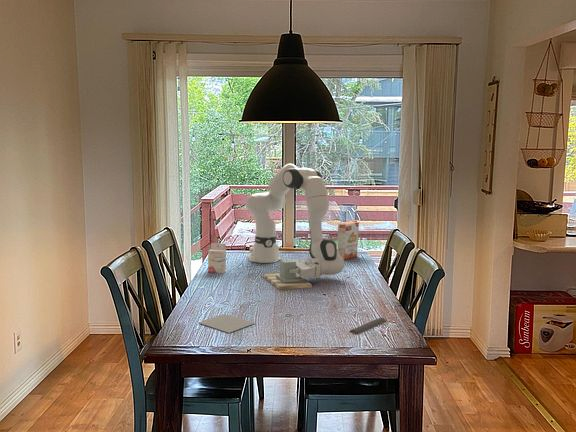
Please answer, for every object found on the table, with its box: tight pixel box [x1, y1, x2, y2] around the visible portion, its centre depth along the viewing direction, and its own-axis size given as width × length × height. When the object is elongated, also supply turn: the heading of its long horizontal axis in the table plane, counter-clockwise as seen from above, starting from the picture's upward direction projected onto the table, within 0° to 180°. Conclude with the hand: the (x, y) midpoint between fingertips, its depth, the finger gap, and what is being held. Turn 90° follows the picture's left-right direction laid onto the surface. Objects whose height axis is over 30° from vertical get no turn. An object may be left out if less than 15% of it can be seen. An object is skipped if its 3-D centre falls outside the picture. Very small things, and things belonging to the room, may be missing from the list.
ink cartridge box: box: [207, 242, 227, 274], centre depth 291 cm, size 9×5×15 cm, turn 84°
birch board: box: [262, 271, 313, 291], centre depth 274 cm, size 26×16×2 cm, turn 20°
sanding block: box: [276, 258, 300, 283], centre depth 271 cm, size 12×8×9 cm, turn 20°
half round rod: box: [349, 317, 387, 335], centre depth 212 cm, size 4×20×2 cm, turn 138°
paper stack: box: [197, 313, 255, 334], centre depth 213 cm, size 23×25×1 cm
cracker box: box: [337, 220, 360, 261], centre depth 329 cm, size 14×6×21 cm, turn 141°
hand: (286, 269), depth 271 cm, fingers closed on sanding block, 6 cm apart
